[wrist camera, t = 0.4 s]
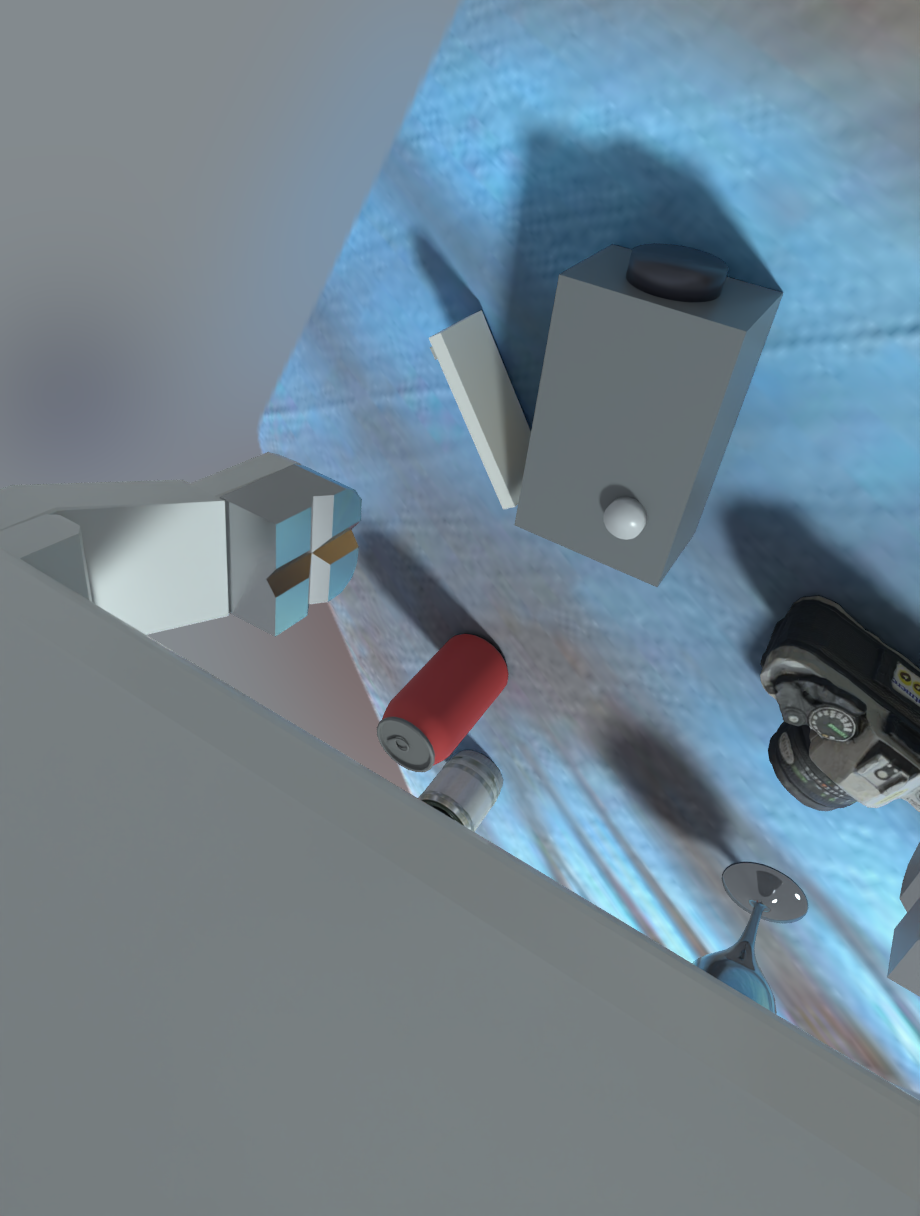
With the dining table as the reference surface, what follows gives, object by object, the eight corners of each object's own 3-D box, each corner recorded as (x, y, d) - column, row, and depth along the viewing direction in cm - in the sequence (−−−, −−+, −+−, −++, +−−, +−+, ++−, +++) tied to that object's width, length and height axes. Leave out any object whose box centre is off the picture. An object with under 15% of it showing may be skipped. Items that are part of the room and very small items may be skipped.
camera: (723, 661, 57) (676, 751, 51) (819, 575, 50) (779, 667, 43) (906, 801, 56) (882, 914, 49) (1035, 734, 48) (1028, 856, 41)
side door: (463, 318, 53) (421, 341, 49) (481, 310, 52) (440, 333, 48) (530, 479, 57) (496, 510, 54) (548, 475, 56) (515, 506, 53)
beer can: (438, 630, 72) (359, 711, 64) (497, 630, 68) (419, 716, 60) (463, 688, 75) (390, 773, 67) (521, 691, 71) (450, 782, 63)
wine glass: (727, 914, 72) (670, 1064, 62) (709, 851, 69) (646, 999, 59) (820, 935, 67) (775, 1103, 57) (805, 869, 64) (754, 1034, 54)
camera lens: (460, 785, 84) (418, 838, 79) (448, 740, 81) (404, 793, 76) (511, 801, 81) (471, 858, 75) (500, 755, 77) (459, 812, 72)
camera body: (614, 220, 45) (552, 252, 40) (792, 269, 41) (750, 311, 36) (558, 478, 56) (506, 529, 51) (694, 533, 53) (652, 594, 48)
